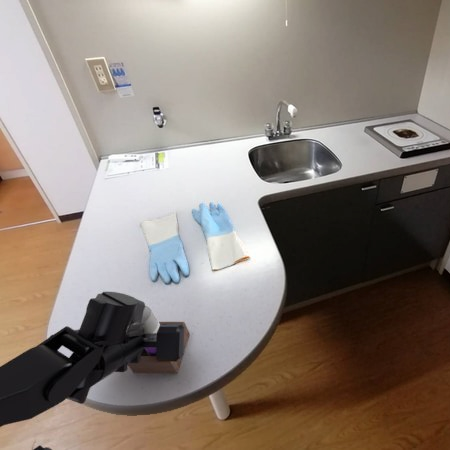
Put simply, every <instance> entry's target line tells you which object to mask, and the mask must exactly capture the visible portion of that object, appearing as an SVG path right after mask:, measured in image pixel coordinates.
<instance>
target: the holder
mask: <svg viewBox="0 0 450 450" xmlns="http://www.w3.org/2000/svg"><path fill="white" fill-rule="evenodd" d="M159 323H160V325H163V324H182V325H183V326H184V351H185V350H186V346H187V343H188V341H189V340H188V339H189V338H190V331H189V328H188V326H187V324H186V322H185V321H159ZM182 360H183V356H182V357H181V358H180V359H179V360H178V361H176V362H163V361H157V359H156V356H149V354H148V353H147V351H146V350H145V348H144V349H143V351H142V353H141V359H140V361H139V362H138V363H128V367H127V368H129V369H130V370H131V371H132V373H133V374H178V372H179V369H180V365H181V364H182Z"/></svg>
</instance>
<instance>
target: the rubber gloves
mask: <svg viewBox="0 0 450 450" xmlns="http://www.w3.org/2000/svg"><path fill="white" fill-rule="evenodd" d="M198 208H199V210H198V209H196V208H192V209H191V214H192V217H193V218H194V220H195V221H196V222H197V223H198V224H199V225H201V228H202V232H203V233H204V236H205V241H206V246H207V252H208V257H209V263H210V268H211V271H212V272H215V271H218V270H222V269H225V268H227V267H230V266H233V265H234V264H237V263H240V262H243V261H245V260H248V259H250V258H251V256H250V254H249V253H248V250H247V249H246V247H245V245H244V243H243V242H242V240H241V239H240V237H239V236H238V234H237V232H236V230H235V227H234V225H233V223H232V221H231V219H230V216H229V215H228V212H227V210H226V208H225V207H224V206H223V205H222V204H221V203H217V204H215V203H214V202H212V201H211V202H209V207H208V206H207V205H206V203H204V202H200V203H199V204H198ZM140 226H141V230H142V232H143V235H144V238H145V241H146V244H147V246H148V251H149V253H150V256H149V265H148V274H149V278H150V279H151V281H152V282H156V281H157V280H158V277H159V275H160V277H161V279H162V281H163V282H164V283H165V284H170V283H171V281H173V282H174V283H175V284H177V283H179V282H180V274H179V269H180V270H181V272H182V274H183V276H184V277H188V276H189V275H190V269H189V267H190V266H189V262H188V259H187V257H186V254H185V251H184V244H183V241H182V239H181V237H180V234H179V223H178V216H177V212H176V211H173V212H171V213H170V214H168V215H166V216H163V217H159V218H156V219H151V220H144V221H142V222H140Z"/></svg>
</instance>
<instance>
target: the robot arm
mask: <svg viewBox="0 0 450 450" xmlns="http://www.w3.org/2000/svg"><path fill="white" fill-rule="evenodd" d="M145 306H146V303H145V302H144V301H143V300H140V299H138V298H136V297H134V296H133V295H129V294H126V293H121V292H117V291H102V292H101V293H98V294H97V295H96V297H94V298H92V297H91V298H90V299H89V300H88V302H87V305H86V309H85V314H84V316H83V319H82V322H81V324H80V327H79V329H73V328H72V327H70V326H64V327H63V328H61V329H59V330H58V331H57V332H55V333H54V334H51V335H50V336H49V337H48V338H46V339H44V340H43V341H42V342H41V343H39V344H37V345H36V346H33V347H30V348H29V349H27V350H26V351H23V352H22V353H20V354H19V355H17V356H15V357H14V358H12V359H10V360H9V361H7V362H5V363H3V364H2V365H1V366H0V428H2V427H4V426H6V425H11V424H15V423H20V422H24V421H29V420H32V419H33V418H35V417H37V416H39V415H41V414H42V413H45V412H47V411H48V410H50V409H52V408H54V407H55V406H56V407H57V406H58V405H60V404H61V403H63V402H64V401H66V400H68V401H72V402H75V403H77V404H80V405H83V404H84V403H85V402H86V401H87V397H88V395H89V392H90V390H91V388H92V387H93V386H95V385H97V384H98V383H100V382H101V381H102V380H105V379H106V378H107V377H109V376H110V375H112V374H113V373H124V372H126V371H128V368H129V367H128V363H138V362H139V361H140V359H141V353H142V351H143V349H144V347H156V359H157V361H163V362H176V361H178V360H179V359H180V358H181V357H182V358H183V356H185V355H184V354H185V350H184V326H183V325H182V324H163V325H161V326H160V327H159V329H158V331H157V333H144V327H140V324H141V321H142V316H143V311H144V309H145ZM148 338H149V339H148ZM150 338H151V339H150ZM152 338H153V339H152ZM154 338H155V339H154ZM61 347H63V348H65V349H67V350H68V351H69V352H72V353H71V355H70V356H69V357H68V356H67V355H65V354H64V353H63V352H61V351H60V348H61ZM32 450H53V449H52V448H51V447H47V446H46V447H43V446H42V445H41V444H40V445H38V446H36V447H35V448H33V449H32Z"/></svg>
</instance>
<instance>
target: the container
mask: <svg viewBox="0 0 450 450" xmlns="http://www.w3.org/2000/svg"><path fill="white" fill-rule="evenodd" d="M159 322H160V321H159V320H158V318H157V317H156V315H155V313H154V311H153V310H152V309H151V307H150V306H148V305H145V309H144V311H143V316H142V321H141V324H140V327H144V333H157V331H158V329H159V327H160V326H161V325H160V323H159ZM148 339H149V338H148ZM150 339H151V338H150ZM152 339H153V338H152ZM154 339H155V338H154ZM144 348H145V350H146V351H147V353H148V356H156V347H144Z"/></svg>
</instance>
